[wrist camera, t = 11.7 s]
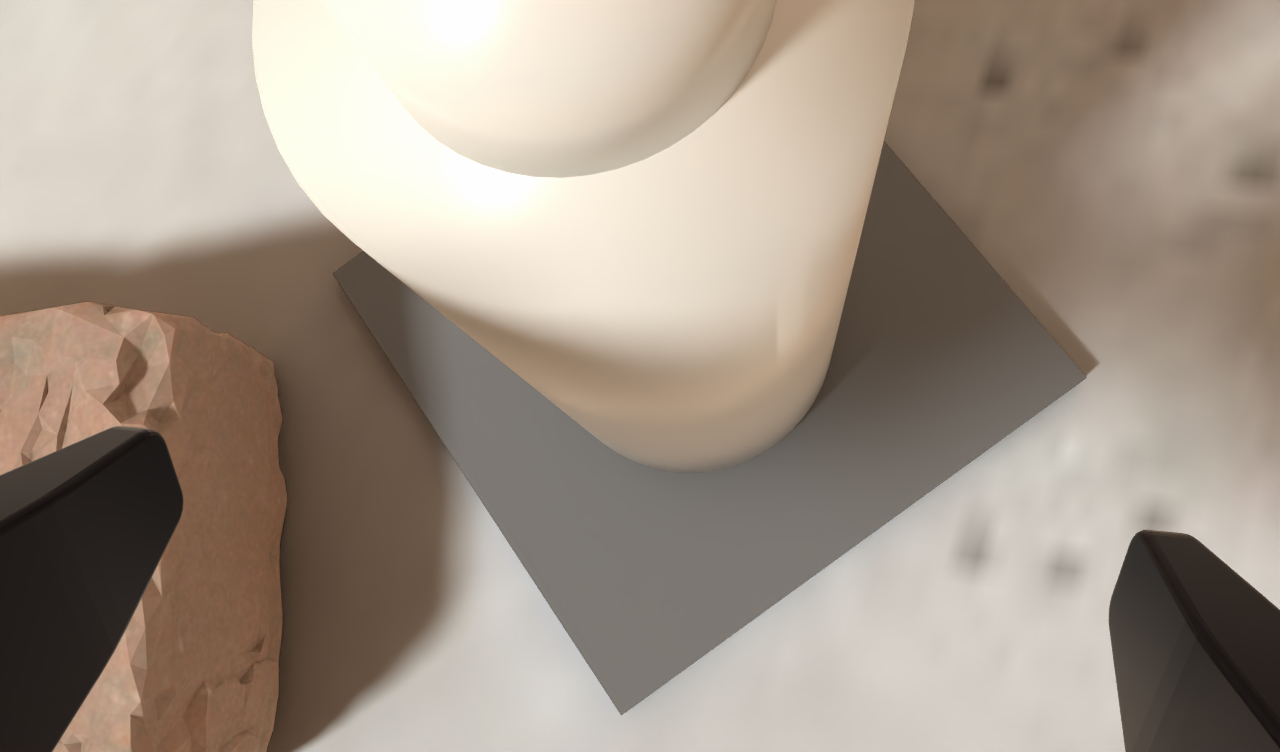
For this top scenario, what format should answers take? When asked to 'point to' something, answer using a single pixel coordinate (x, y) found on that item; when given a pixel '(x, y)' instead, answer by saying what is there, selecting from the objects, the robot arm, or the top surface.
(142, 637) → the brick
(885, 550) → the top surface
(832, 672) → the top surface
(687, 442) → the glue bottle
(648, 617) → the mat
